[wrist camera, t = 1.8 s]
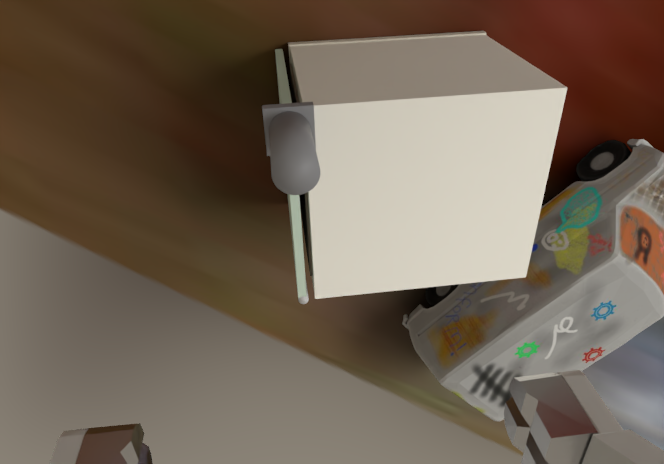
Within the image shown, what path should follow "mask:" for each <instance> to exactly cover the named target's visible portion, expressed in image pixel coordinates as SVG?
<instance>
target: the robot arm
mask: <svg viewBox="0 0 664 464" xmlns="http://www.w3.org/2000/svg"><path fill="white" fill-rule="evenodd" d="M509 391H510V393H511V395H512V397H511V398H510V399H509V400H508V401H507V402H506V403H505V409H504V419H505V426H506V429H507V433H508V435H509V438H510V440H511V442H512V444H513V445H514V446H515V447H517V448H518V449H519V450H521V451H522V452H523V457H522V462H521V463H522V464H664V451H663V450H662V449H660V448H659V447H657V446H655V445H654V444H652V443H651V442H649V441H647V440H646V439H644V438H643V437H641V436H639V435H638V434H636V433H635V432H633V431H631V430H623V429H622V428H621V426H620V425H619V423H618V422H617V420H616V419H615V418H614V416H613V415H612V413H611V412H610V410H609V409H608V407H607V406H606V405H605V403H604V402H603V400H602V399H601V397H600V396H599V394H598V393H597V392H596V390H595V389H594V387H593V386H592V384H591V383H590V382H589V380H588V379H587V377H586V376H585V374H584V373H583V372H581V371H580V370H573V371H565V372H557V373H555V372H553V373H545V374H538V375H530V376H523V377H516V378H513V379H512V380H511V382H510V386H509ZM143 436H144V432H143V429H142V427H141V425H140V424H129V425H118V426H108V427H97V428H87V429H77V430H69V431H64V432H63V433H62V434H61V436H60V437H59V439H58V440H57V443H56V446H55V449H54V451H53V454H52V457H51V460H50V463H49V464H153V463H152V457H151V452H150V449H149V447H148V446H147V445H145V444H144V443H142V442H143Z"/></svg>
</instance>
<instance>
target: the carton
mask: <svg viewBox="0 0 664 464" xmlns="http://www.w3.org/2000/svg"><path fill="white" fill-rule="evenodd" d="M288 50H289V63H290V64H289V67H290V80H291V94H292V103H300V102H313V105H314V122H315V142H316V153H317V158H318V162H319V166H320V178H319V181H318V183H317V185H316V186H315V187H314V188H313V189H312V190H310V191H309V192H307V193H304V194H301V195H299V197H300V207H301V214H302V221H303V228H304V235H305V242H306V249H307V256H308V263H309V270H310V276H312V281H313V288H314V294H315V299H320V298H329V297H339V296H349V295H359V294H368V293H378V292H388V291H398V290H407V289H417V288H427V287H437V286H447V285H456V284H466V283H476V282H486V281H495V280H505V279H515V278H525V277H526V275H527V271H528V266H529V261H530V257H531V252H532V248H533V243H534V239H535V234H536V229H537V225H538V220H539V216H540V211H541V206H542V202H543V197H544V193H545V188H546V183H547V179H548V174H549V170H550V165H551V160H552V156H553V151H554V147H555V142H556V138H557V133H558V128H559V124H560V119H561V115H562V110H563V105H564V101H565V96H566V92H567V87H566V86H564V85H562V84H561V83H559V82H558V81H556V80H555V79H553V78H552V77H550V76H549V75H547V74H545V73H544V72H542V71H541V70H539V69H538V68H536V67H535V66H533V65H531V64H530V63H528V62H527V61H525V60H524V59H522V58H521V57H519V56H517V55H516V54H514V53H513V52H511V51H510V50H508V49H507V48H505V47H503V46H502V45H500V44H499V43H497V42H496V41H494V40H493V39H491V38H490V37H488V36H486V32H484V31H472V32H456V33H439V34H422V35H406V36H389V37H373V38H356V39H340V40H323V41H306V42H290V43H288Z"/></svg>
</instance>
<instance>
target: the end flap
mask: <svg viewBox="0 0 664 464" xmlns="http://www.w3.org/2000/svg"><path fill="white" fill-rule="evenodd" d="M275 55H276V67H277V79H278V90H279V102H280V104H271V105H262V112H263V121H264V131H265V140H266V150H267V156H270V159H271V176H272V180H273V182H274V184H275V186H276V187H277V188H278V189H279V190H281V191H282V192H284V193H286V194H287V195H288V206H289V215H290V225H291V234H292V244H293V253H294V262H295V272H296V281H297V290H298V300H299V303H301V304H306V303H307V302H308V300H309V299H308V292H307V284H306V276H305V266H304V252H303V239H302V225H301V211H300V197H299V195H301V194H304V193H307V192H309V191H310V190H312V189H313V188H314V187H315V186H316V185H317V183H318V181H319V178H320V166H319V162H318V158H317V153H316V142H315V122H314V105H313V102H300V103H292V101H291V95H290V89H289V83H288V77H287V72H286V66H285V60H284V54H283V49H275Z"/></svg>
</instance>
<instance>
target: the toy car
mask: <svg viewBox="0 0 664 464" xmlns="http://www.w3.org/2000/svg"><path fill="white" fill-rule="evenodd" d="M627 144H628V145H629V146H630V148H631V149H633V152H632V153H631V152H630V150H629V149H628V148H627V146H626V145H625V144H624V143H622V142H619V141H616V140H610V141H606V142H604V143H602V144H600V145H598V146H596V147H595V148H593V149H592V150H591V151H590V152H589V153H588V154H587V155H586V156H585V157H584V158H582V159H581V161H580V162H579V163H578V164H577V168H576V173H577V175H578V176H579V178H580V179H581V181H577V182H574V183H573V184H571V185H570V186H569V187H567V188H566V189H565V190H563V191H562V192H561V193H560V194H558V195H557V196H556V197H554V198H553V199H552V200H550V201H549V202H548V203H547V204H545V205H544V206H543V207H541V211H540V216H539V220H538V225H537V229H536V234H535V239H534V243H533V248H532V252H531V257H530V261H529V266H528V271H527V275H526V277H525V278H515V279H505V280H495V281H486V282H476V283H466V284H456V285H447V286H437V287H427V288H426V292H425V295H426V300H427V302H428V303H429V304H430V306H431V308H429V309H426V308H425V307H424V306H422V305H421V304H420V305H419V306H418V307H416V308H415V309H414V310H413V311H412V312H411V314H410V315H409V318H408V314H405V315H403V323H402V324H403V325H404V326H405V327H406V328H407V329H408V330H409V333H410V337H411V340H412V343H413V346H414V349H415V351H416V352H417V354H418V355H419V356H420V358H421V359H422V360H423V362H424V363H425V364H426V365H427V367H428V368H429V369H430V371H431V372H432V373H433V375H434V376H435V377H436V379H437V380H438V381H439V382H440V384H441V385H443V386H444V387H445V388H447V389H448V390H450V391H451V392H452V393H454V394H455V395H457V396H458V397H460V398H461V399H463V400H464V401H466V402H467V403H469V404H470V405H472V406H473V407H474V408H476V409H477V410H479V411H480V412H481V413H483V414H484V415H486V416H487V417H489V418H491V419H492V420H494V421H501V420H503V419H504V409H505V403H506V402H507V401H508V400H509V399H510V398H511V397H512V395H511V393H510V391H509V386H510V382H511V380H512V379H513V378H516V377H523V376H530V375H538V374H545V373H553V372H555V373H557V372H565V371H573V370H580V371H582V370H584V369H585V368H587V367H588V366H590V365H592V364H593V363H595V362H596V361H598V360H599V359H601V358H603V357H604V356H606V355H607V354H609V353H610V352H612V351H614V350H615V349H617V348H618V347H620V346H622V345H623V344H625V343H626V342H627V341H629V340H630V339H631V338H633V337H634V336H635V335H637V334H638V333H640V332H641V331H643V330H644V329H646V328H647V327H649V326H650V325H652V324H653V323H655V322H656V321H658V320H659V319H661V318H662V317H663V316H664V153H662V152H660V151H659V150H657V149H654V148H653V147H652V146H651V145H650V144H649V143H648V142H647V141H645V140H644V139H640V140H637V139H630V140H629V141H628V142H627ZM407 320H408V322H407Z"/></svg>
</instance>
